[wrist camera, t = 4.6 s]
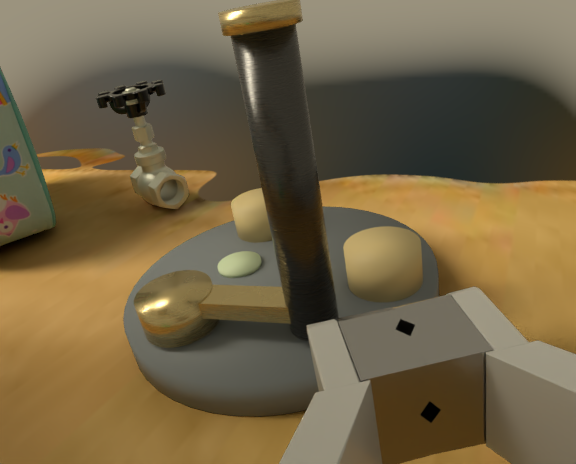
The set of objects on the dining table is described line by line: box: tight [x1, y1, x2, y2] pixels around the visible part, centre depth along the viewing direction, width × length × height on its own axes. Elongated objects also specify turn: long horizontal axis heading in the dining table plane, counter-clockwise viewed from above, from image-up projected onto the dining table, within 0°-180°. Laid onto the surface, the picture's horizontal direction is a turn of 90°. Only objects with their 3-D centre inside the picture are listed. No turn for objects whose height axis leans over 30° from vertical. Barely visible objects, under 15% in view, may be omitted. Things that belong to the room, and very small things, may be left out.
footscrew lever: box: [134, 0, 339, 348], centre depth 25 cm, size 12×4×16 cm, turn 73°
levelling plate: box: [124, 188, 439, 416], centre depth 33 cm, size 20×20×4 cm
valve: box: [96, 80, 189, 209], centre depth 51 cm, size 7×7×12 cm
